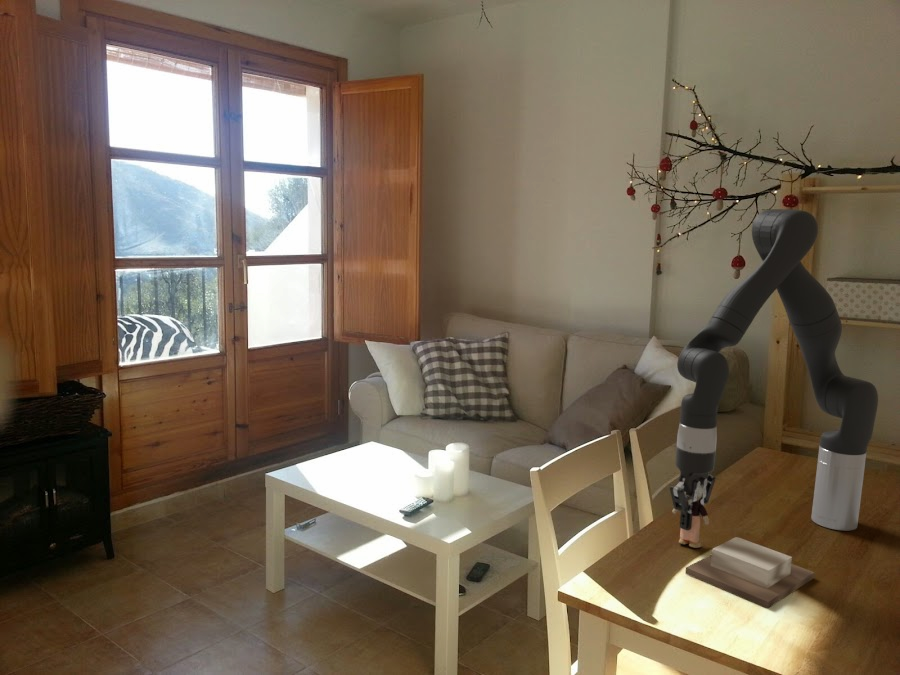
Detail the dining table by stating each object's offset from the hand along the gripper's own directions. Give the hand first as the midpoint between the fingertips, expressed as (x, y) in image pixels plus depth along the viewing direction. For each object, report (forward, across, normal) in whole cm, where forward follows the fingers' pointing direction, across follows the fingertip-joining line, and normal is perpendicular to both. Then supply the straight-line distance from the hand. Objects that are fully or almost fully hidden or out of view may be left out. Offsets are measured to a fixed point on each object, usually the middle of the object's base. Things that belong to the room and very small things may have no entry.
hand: (689, 526), depth 152 cm
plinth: (+4, -3, -15) cm, 16 cm away
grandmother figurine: (+4, -1, 0) cm, 4 cm away
